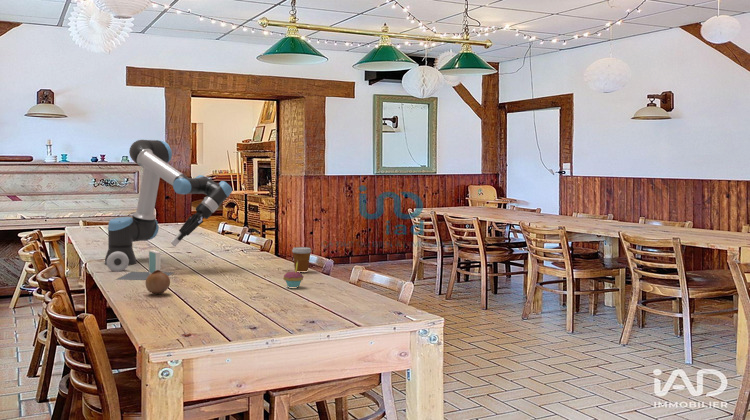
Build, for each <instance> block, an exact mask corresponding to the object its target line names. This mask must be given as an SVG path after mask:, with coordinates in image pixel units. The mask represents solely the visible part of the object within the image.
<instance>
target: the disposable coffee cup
mask: <svg viewBox="0 0 750 420" xmlns="http://www.w3.org/2000/svg"><path fill="white" fill-rule="evenodd" d="M291 252H292V256H293V258H292V259H293V265H294V266H293V268H294V270H295V269H296V263H297V261H298V266H297V271H307V270H308V271H309V265H310V260H311V253H312V249H311V247H305V246H297V247H296V246H295V247H293V248H292V250H291Z"/></svg>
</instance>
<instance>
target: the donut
mask: <svg viewBox="0 0 750 420" xmlns="http://www.w3.org/2000/svg"><path fill="white" fill-rule="evenodd" d="M117 258H119V259H121V264H120V265H115V264H114V260H115V259H117ZM106 263H107V265H106V266H107V268H108V269H109V270H110V271H111V272H123V271H125V270H127V268H128V266H129V265H128V264H129V259H128V257H127V255H126V254H125V253H123V252H119V251H117V252H113V253H111V254H110V255H109V256H108V258H107V262H106Z"/></svg>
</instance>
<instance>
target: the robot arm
mask: <svg viewBox="0 0 750 420" xmlns="http://www.w3.org/2000/svg"><path fill="white" fill-rule="evenodd" d="M129 157H130V158H131V160H132V161H133V162H134V163H135V164H136V165H138V166H139V167H143V172H142V177H141V183H140V189H139V194H138V201H137V208H136V211H135V212H133V213H132V216H131V217H130V216H124V217H123V216H121V217H115V218H111V219H110V220H109V221H108V226H107V231H108V233H107V238H108V241H107V242H108V244H107V245H108V248H107V252H106V256H105V257H104V265H106V266H107V263H106V262H107V258H108V256H109V255H110V254H111V253H113V252H117V251H119V252H123V253H125V254H126V255H127V257H128V259H129V264H128V266H130V265H135V264H136V263H137V257H136V255H135V252H134V249H133V242H146V241H149V240H153V239H154V238H156V237H157V235H158V233H159V229H160V227H159V226H160V225H159V222H158V220H156V218H157V217H156V216H155V213H154V212H155V207H156V201H157V196H158V190H159V185H160V181H161V180H164V182H166V183H167V184H169V185H171V186H172V188H173V190H174V192H175V193H176V194H177V195H193V194H194V195H195V194H196V195H197V194H201V195H202V194H203V195H206V196H205V197H203V200H201V203H199V204H198V205H197V206H196V207H195V211H196V212H195V213H194V214H192V216H191V215H190V216H189V217H188V218H187V220H186V221H185V222H184V223H183V224H182V226H181V227H180V229H179V230H178V233H177V235H176V236H175V237H174V238H173V239H172V240H171V241H170V242H169V243H170V244H171V245H172V246H173V247H177V245H178V244H180V242H181V241H182V240H183V239H184V238H185V237H186V236H189V235H190V234H192V233H193V232H194V231H195V230H196V229H197V228H198V227H199V226H200V225H202V223H204V221H203V220H204V219H205V220H209V218H210V217H211V216H212V214H213V213H215V212H216V210H217V209H218V208H219V207H220V206H221V205H222V204H223V202H225V201H226V199H228V198H229V197H230V195H231V194H232V193H233V188H232V187H231V185H230V184H229V183H227V181H224V180H221V181H220V182H215V181H213V180H212V179H210V178H209V177H207V176H205V175H204V174H203V175H202V174H200V175H197V176H196V177H188V176H186V175H185V174H184V173H182V172H181V171H180V170H177V169H176V168H175V167H173V166H172V165H170V164H168V163H169V162H170V161H171V160H172V159H173V158H172V157H173V152H172V148H171V147H170V145H169V143H168V142H166V141H164V140H158V139H157V140H156V139H138V140H136V141H134V142H133V143H132V144H131V145H130V148H129ZM160 179H161V180H160ZM114 264H115V265H120V264H121V259H119V258H117V259H115V260H114Z"/></svg>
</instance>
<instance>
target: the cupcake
mask: <svg viewBox="0 0 750 420" xmlns="http://www.w3.org/2000/svg"><path fill="white" fill-rule="evenodd" d="M297 266H298V261H297V263H296V269H295V268H294V271H288V272H286V273H284V275H283V278H282V279H283V280H284V281H285V283H286V286H287V287H288V286H289V287H297V286H299V287H300V286H301V283H302V281H303V280H304V275H303V273H299V272H297Z"/></svg>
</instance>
